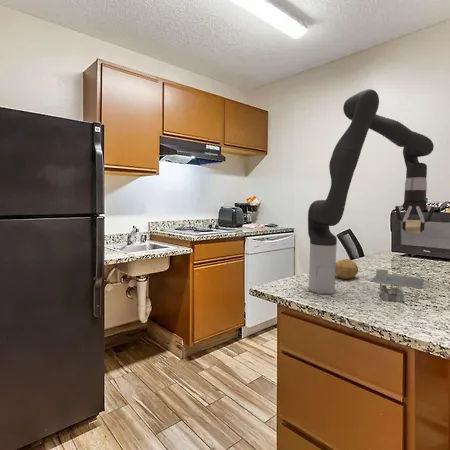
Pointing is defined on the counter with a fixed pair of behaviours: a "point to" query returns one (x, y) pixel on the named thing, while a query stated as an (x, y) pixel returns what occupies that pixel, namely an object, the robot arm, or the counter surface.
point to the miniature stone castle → (391, 293)
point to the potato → (346, 269)
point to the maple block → (413, 226)
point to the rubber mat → (401, 281)
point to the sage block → (382, 273)
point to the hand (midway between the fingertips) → (413, 231)
